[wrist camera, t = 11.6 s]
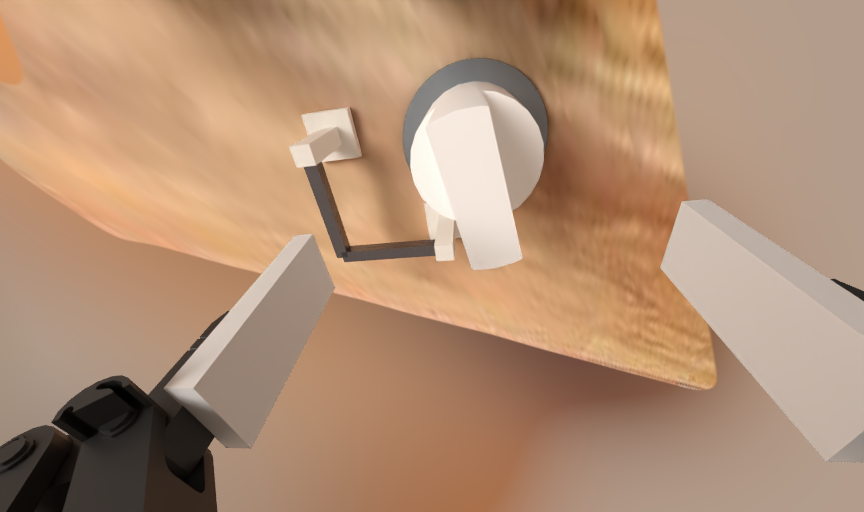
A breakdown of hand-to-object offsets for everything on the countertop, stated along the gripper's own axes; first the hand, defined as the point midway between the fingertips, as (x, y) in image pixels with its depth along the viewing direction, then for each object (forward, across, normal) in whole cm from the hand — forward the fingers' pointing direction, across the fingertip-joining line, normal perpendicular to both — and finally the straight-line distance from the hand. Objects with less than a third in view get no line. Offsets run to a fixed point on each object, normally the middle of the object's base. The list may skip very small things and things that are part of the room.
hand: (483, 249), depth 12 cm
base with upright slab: (+17, 0, -1) cm, 17 cm away
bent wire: (+13, -8, -3) cm, 15 cm away
